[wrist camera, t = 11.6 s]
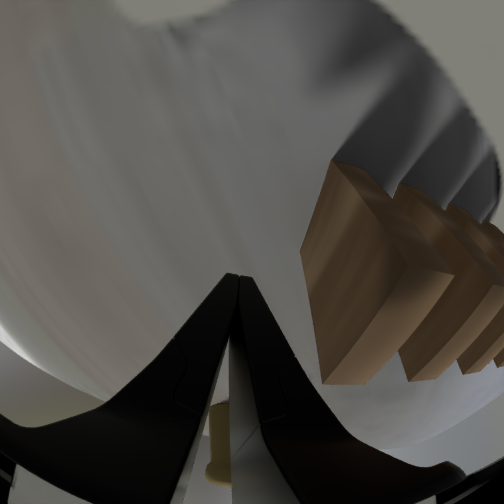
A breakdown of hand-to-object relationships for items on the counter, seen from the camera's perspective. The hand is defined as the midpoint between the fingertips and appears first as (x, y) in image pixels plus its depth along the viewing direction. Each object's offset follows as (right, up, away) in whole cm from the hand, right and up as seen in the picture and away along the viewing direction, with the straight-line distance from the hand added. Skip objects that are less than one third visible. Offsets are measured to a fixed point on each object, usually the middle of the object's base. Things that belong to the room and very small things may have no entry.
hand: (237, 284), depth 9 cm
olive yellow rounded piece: (-2, -20, +23) cm, 31 cm away
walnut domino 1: (+5, +3, +6) cm, 9 cm away
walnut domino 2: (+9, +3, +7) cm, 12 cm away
